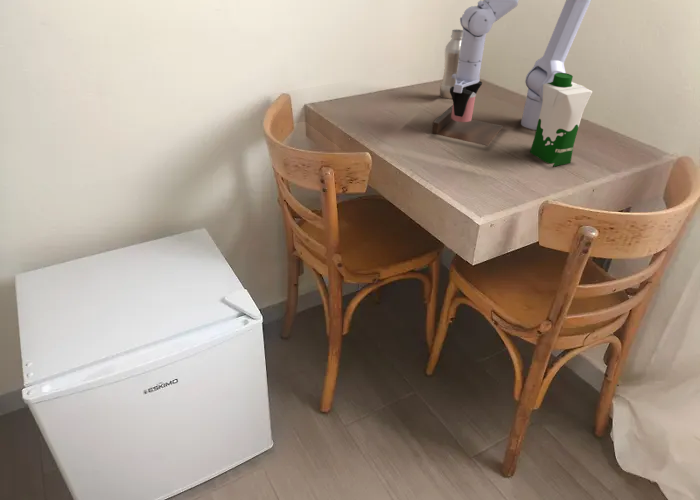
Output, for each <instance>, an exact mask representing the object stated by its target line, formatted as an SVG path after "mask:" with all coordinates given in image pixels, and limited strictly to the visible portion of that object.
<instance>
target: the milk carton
mask: <svg viewBox="0 0 700 500" xmlns="http://www.w3.org/2000/svg"><path fill="white" fill-rule="evenodd" d="M573 77H574V76H573V75H572V74H570V73H567V72H566V73H556V74H555V75H554V79H553V82H551V83H547V84H543V102H542V107H541V112H540V116H539V120H538V124H537V129H536V130H535V133H534V137H533V141H532V144H531V147H530V151H529V153H530V154H531V155H533V156H534V157H536V158H538V159H539V160H541V161H543V162H544V163H546V164H549V165H552V167H559V166H563V165H568V164H571V161H572V157H573V151H574V145H575V142H576V138H577V136H578V135H577V134H578V131H579V127H580V124H581V120H582V116H583V114H584V110H585V108H586V106H587V104H588V102H589V100H590V98H591V95H592V94H593V90H591V89H589V88H587V87H585V86H584V85H581V84H578V83H576V82H574V81H573Z"/></svg>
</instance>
